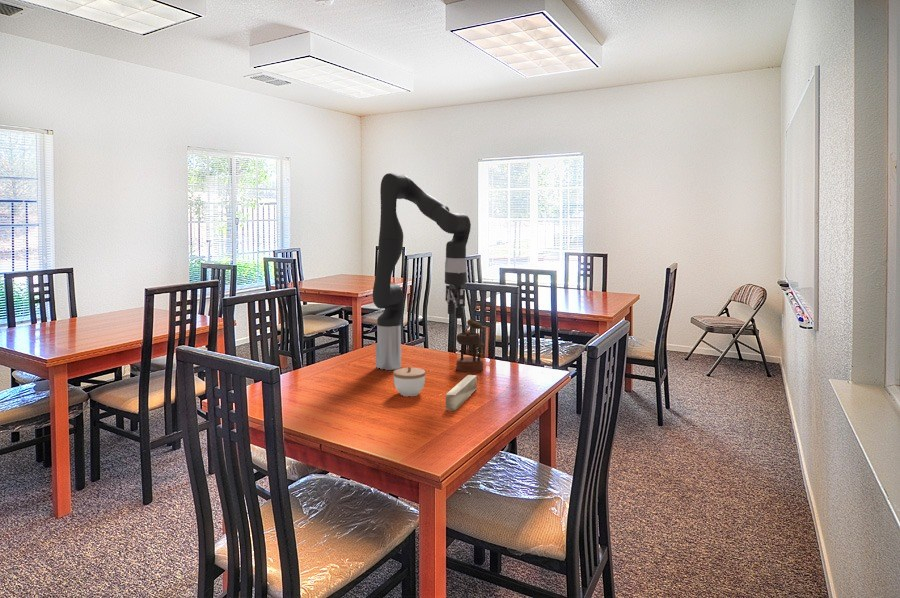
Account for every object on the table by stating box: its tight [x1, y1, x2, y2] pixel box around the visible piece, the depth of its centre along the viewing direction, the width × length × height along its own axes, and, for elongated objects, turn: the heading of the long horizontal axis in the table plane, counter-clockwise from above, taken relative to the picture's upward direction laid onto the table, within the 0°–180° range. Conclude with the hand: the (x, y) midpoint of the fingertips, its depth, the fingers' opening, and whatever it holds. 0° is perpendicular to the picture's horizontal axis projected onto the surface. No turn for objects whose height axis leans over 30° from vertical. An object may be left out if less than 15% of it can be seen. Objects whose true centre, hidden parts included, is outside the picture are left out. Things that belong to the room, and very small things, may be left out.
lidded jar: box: [392, 365, 426, 397], centre depth 193 cm, size 11×11×9 cm
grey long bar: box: [445, 374, 478, 412], centre depth 188 cm, size 3×24×5 cm, turn 162°
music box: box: [448, 319, 488, 373], centre depth 225 cm, size 15×11×20 cm
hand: (454, 316), depth 205 cm, fingers open, 8 cm apart
